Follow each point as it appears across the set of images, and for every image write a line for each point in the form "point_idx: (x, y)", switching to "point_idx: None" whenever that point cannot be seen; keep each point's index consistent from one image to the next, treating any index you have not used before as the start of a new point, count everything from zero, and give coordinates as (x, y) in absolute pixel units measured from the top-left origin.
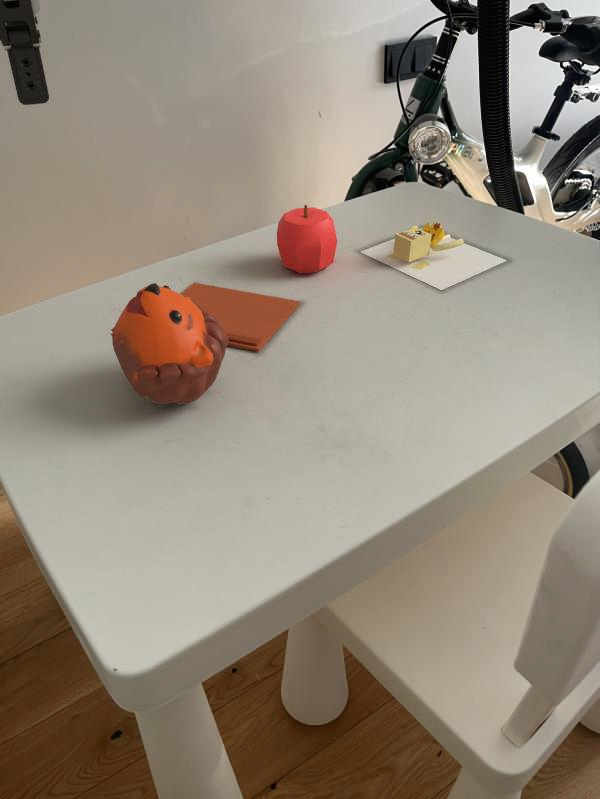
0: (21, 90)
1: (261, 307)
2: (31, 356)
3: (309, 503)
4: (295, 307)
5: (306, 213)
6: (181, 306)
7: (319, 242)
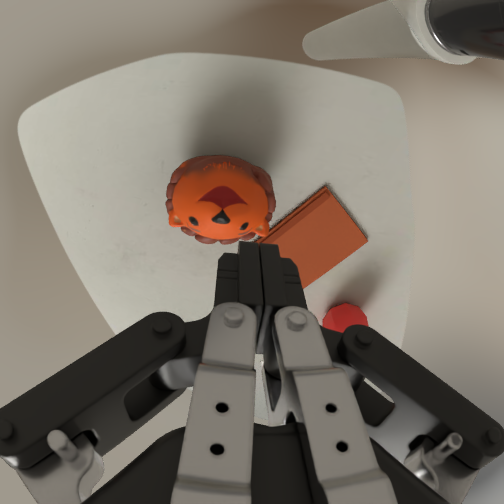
0: (237, 259)
1: (300, 271)
2: (332, 90)
3: (84, 225)
4: None
5: None
6: (206, 230)
7: None
